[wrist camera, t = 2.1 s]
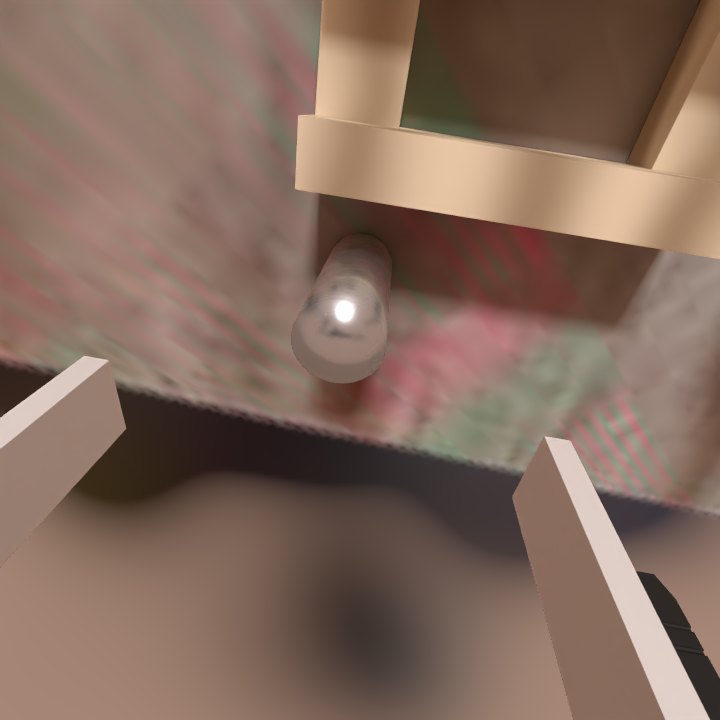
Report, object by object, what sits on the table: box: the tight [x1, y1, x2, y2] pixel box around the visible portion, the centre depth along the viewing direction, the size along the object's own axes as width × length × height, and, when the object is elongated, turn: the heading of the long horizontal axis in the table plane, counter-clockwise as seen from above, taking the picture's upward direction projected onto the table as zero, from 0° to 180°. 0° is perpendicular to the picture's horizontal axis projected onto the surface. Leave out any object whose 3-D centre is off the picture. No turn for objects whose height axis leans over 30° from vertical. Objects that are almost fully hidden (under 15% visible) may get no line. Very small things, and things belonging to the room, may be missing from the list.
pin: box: [291, 233, 392, 383], centre depth 21 cm, size 4×4×10 cm
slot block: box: [295, 0, 720, 259], centre depth 16 cm, size 20×12×6 cm, turn 82°
